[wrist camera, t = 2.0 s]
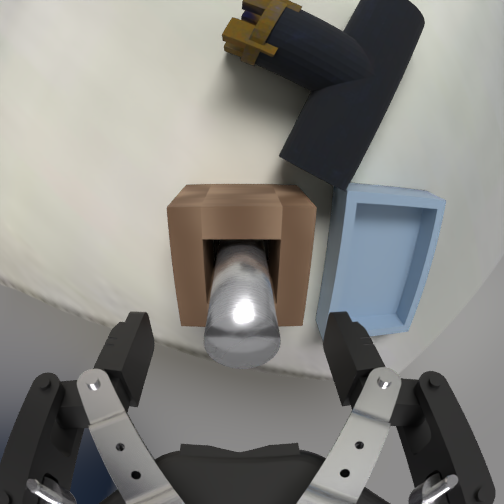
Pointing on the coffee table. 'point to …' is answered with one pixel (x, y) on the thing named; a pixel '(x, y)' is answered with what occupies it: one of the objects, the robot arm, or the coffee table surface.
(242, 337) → the pin
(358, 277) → the tray
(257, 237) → the pin block
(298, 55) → the pipe connector
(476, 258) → the coffee table surface
